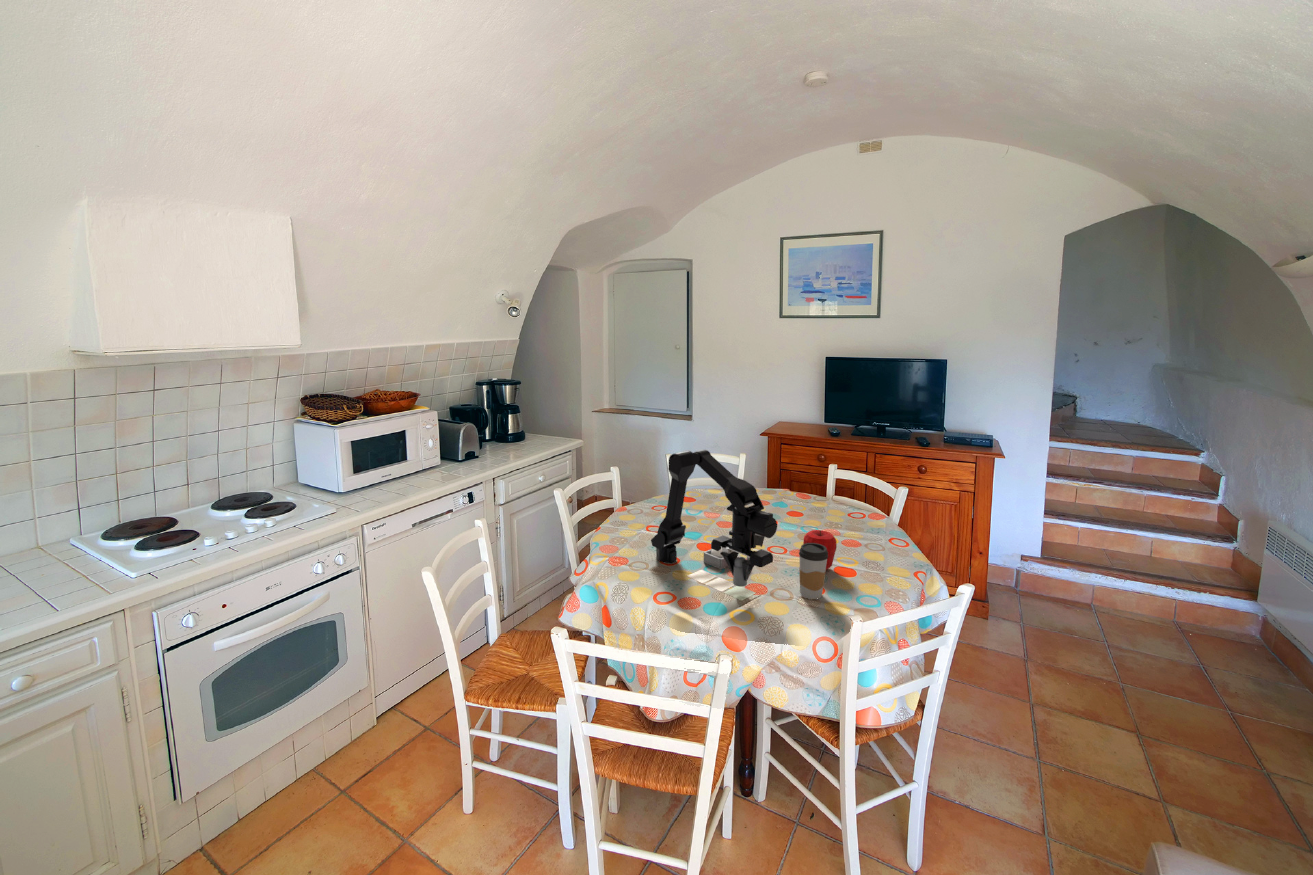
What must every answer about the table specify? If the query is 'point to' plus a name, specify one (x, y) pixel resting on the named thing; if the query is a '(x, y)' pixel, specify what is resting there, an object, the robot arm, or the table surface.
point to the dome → (717, 553)
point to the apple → (823, 543)
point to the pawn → (739, 572)
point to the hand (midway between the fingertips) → (740, 577)
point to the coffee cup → (812, 569)
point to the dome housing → (714, 560)
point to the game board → (722, 585)
